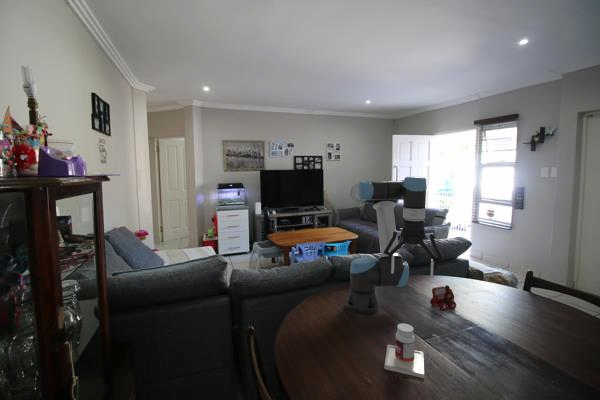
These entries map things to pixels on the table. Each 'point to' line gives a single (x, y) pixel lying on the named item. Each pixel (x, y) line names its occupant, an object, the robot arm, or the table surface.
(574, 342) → the table surface
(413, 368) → the coaster
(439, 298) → the toy fire truck
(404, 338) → the pill bottle
